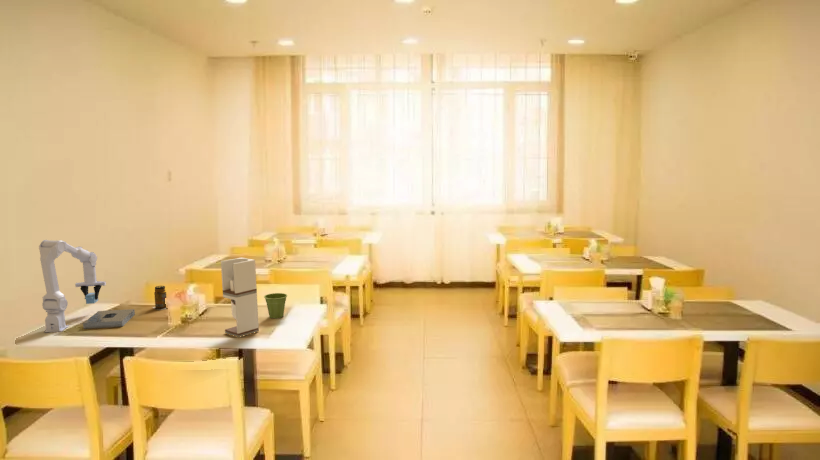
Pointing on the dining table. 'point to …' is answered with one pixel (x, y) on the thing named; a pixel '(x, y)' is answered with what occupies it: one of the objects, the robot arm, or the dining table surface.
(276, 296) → the plant pot
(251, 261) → the espresso maker
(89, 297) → the servo
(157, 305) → the condiment
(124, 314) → the chassis
